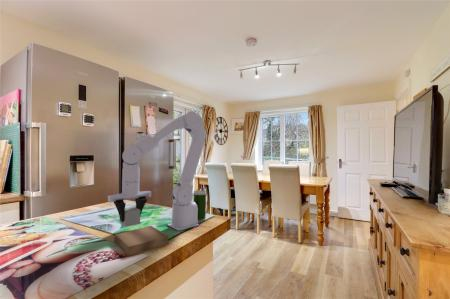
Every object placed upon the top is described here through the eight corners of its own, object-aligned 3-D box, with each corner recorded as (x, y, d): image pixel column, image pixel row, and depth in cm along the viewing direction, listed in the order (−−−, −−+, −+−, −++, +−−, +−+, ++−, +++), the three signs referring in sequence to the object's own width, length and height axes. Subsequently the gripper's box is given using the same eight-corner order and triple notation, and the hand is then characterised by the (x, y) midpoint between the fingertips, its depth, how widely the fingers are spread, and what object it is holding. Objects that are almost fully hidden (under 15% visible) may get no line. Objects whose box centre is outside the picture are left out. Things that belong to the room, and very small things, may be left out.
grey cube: (134, 220, 83) (134, 206, 83) (140, 223, 79) (140, 209, 79) (120, 223, 79) (120, 209, 79) (125, 226, 76) (125, 212, 76)
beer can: (196, 222, 90) (196, 193, 90) (190, 218, 95) (191, 190, 95) (207, 220, 93) (208, 191, 93) (201, 216, 98) (202, 189, 98)
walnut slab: (150, 234, 78) (151, 225, 78) (167, 245, 69) (168, 236, 69) (114, 243, 70) (114, 234, 70) (128, 257, 61) (128, 246, 61)
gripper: (145, 178, 87) (145, 213, 87) (105, 181, 77) (104, 220, 77) (154, 180, 82) (153, 217, 82) (111, 184, 72) (111, 226, 72)
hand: (130, 219), depth 79 cm, fingers closed on grey cube, 5 cm apart
